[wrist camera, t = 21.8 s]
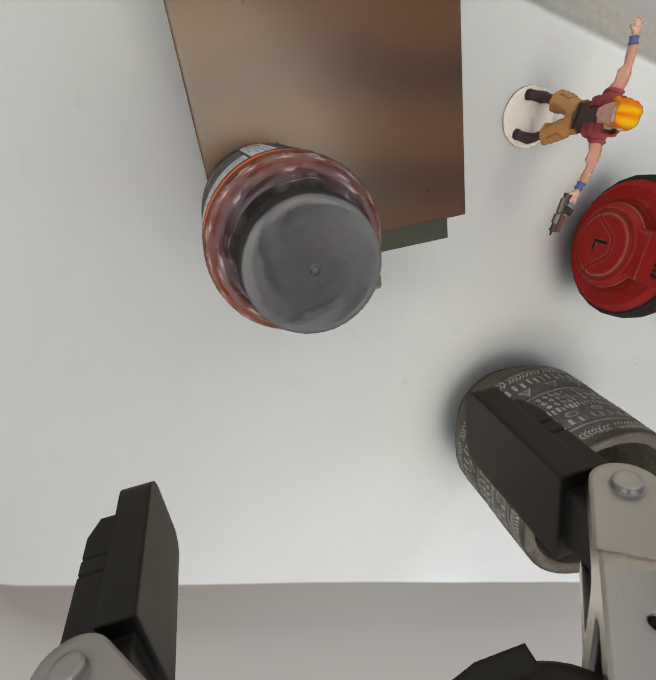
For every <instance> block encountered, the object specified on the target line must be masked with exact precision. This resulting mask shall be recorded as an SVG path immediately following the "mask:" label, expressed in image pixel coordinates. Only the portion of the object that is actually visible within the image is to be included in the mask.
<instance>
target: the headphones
mask: <svg viewBox="0 0 656 680" xmlns="http://www.w3.org/2000/svg"><path fill="white" fill-rule="evenodd" d="M571 266H572V272H573V277H574V281H575V283H576V285H577V288H578V290H579V292H580V294H581V295H582V296H583V297H584V299H585V300H586V301H587V302H588V304H589V305H591V306H592V307H594V308H595V309H597V310H598V311H600V312H601V313H605V314H608V315H612V316H615V317H620V318H635V317H643V316H647V315H650V314H653V313H656V175H636V176H633V177H630V178H627V179H624V180H621V181H619V182H617V183H616V184H614V185H613V186H611V187H610V188H608V189H607V190H605V191H604V192H603V193H602V194H601V195H600V196H599V197H598V198H597V199H596V200H595V201H594V202H593V203H592V204H591V205H590V207H589V208H588V210H587V211H586V213H585V214H584V216H583V217H582V219H581V220H580V223H579V225H578V227H577V230H576V232H575V235H574V239H573V243H572V248H571Z"/></svg>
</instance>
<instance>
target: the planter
mask: <svg viewBox="0 0 656 680" xmlns="http://www.w3.org/2000/svg"><path fill="white" fill-rule="evenodd" d="M491 386H496V387H497V388H499V389H500V390H501V391H502V392H504V393H505V394H506V395H507V396H508V397H510V398H511V399H512V400H515V399H521V400H524V401H526V402H529V403H531V404H533V405H536V406H538V407H540V408H541V409H542V410H543V411H545V412H546V413H547V414H548V415H550V416H551V417H552V418H553V420H556V421H557V422H558V423H560V424H561V425H562V426H563V427H564V428H565V430H568V431H570V432H571V433H572V434H573V435H575V436H576V437H577V438H578V439H580V440H581V441H582V442H583V443H585V444H586V445H587V446H588V447H590V448H591V449H592V450H594V451H595V452H596V453H597V454H599V455H600V456H601V457H602V458H604V459H605V460H606V461H607V462H609V463H624V464H630V465H633V466H637V467H640V468H642V469H644V470H646V471H649V472H650V473H652V474H653V475H655V476H656V433H655V432H654V431H652V430H651V429H649V428H647V427H646V426H645V425H643V424H642V423H640V422H639V421H638V420H636V419H635V418H633V417H632V416H631V415H629V414H628V413H626V412H625V411H623V410H622V409H620V408H619V407H617V406H616V405H614V404H613V403H611V402H610V401H608V400H606V399H605V398H603V397H602V396H600V395H599V394H597V393H596V392H595V391H593V390H592V389H591V388H589V387H588V386H587V385H585V384H584V383H582V382H581V381H579V380H578V379H576V378H575V377H573V376H571V375H570V374H568V373H566V372H565V371H562V370H560V369H557V368H553V367H546V366H526V367H516V368H509V369H503V370H499V371H496V372H493V373H491V374H489V375H487V376H485V377H484V378H482V379H481V380H479V381H478V382H477V383H476V384H475V385H474V386H473V387H472V388H471V389H470V390H469V391H468V392H467V393H470V392H473V391H477V390H480V389H484V388H487V387H491ZM464 399H465V397H464ZM464 399H463V401H462V402H461V405H460V408H459V411H458V416H457V423H456V435H455V446H456V456H457V460H458V464H459V466H460V468H461V470H462V472H463V473H464V474H465V476H466V477H467V479H468V480H469V482H470V483H471V484H472V486H473V487H474V488H475V489H476V491H477V492H478V493H479V494H480V495H481V496H482V498H483V499H484V500H485V501H486V503H487V504H488V505H489V507H490V508H491V509H492V511H493V512H494V514H495V515H496V516H497V518H498V519H499V520H500V522H501V523H502V524H503V526H504V527H505V528H506V530H507V531H508V532H509V533H510V535H511V536H512V537H513V538H514V540H515V541H516V542H517V543H518V545H519V546H520V547H521V548H522V550H523V551H524V552H525V553H526V555H527V556H528V557H529V558H530V560H531V561H532V562H533V563H534V564H535V565H537V566H538V567H540V568H542V569H544V570H546V571H549V572H554V573H566V574H568V573H579V572H580V560H579V559H578V557H577V556H576V555H575V554H574V553H572V554H569V555H566V556H563V557H561V558H558V559H555V558H554V557H553V556H552V554H551V553H550V552H549V551H548V550H547V548H546V547H545V546H544V545H543V544H542V543H541V541H540V540H539V539H538V538H537V537H536V536H535V534H534V533H533V532H532V531H531V530H530V528H529V527H528V526H527V525H526V524H525V523H524V521H523V520H522V519H521V518H520V517H519V515H518V514H517V513H516V512H515V511H514V510H513V508H512V507H511V506H510V505H509V504H508V502H507V501H506V500H505V499H504V498H503V497H502V495H501V494H500V493H499V492H498V491H497V489H496V488H495V487H494V486H493V485H492V484H491V482H490V481H489V480H488V479H487V478H486V477H485V475H484V474H483V473H482V472H481V471H480V469H479V468H478V467H477V466H476V465H475V463H474V462H473V460H472V458H471V456H470V454H469V452H468V449H467V445H466V431H465V405H464Z"/></svg>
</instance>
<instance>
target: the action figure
mask: <svg viewBox="0 0 656 680" xmlns="http://www.w3.org/2000/svg"><path fill="white" fill-rule="evenodd" d="M642 18H643V17H641V18H640V17H638V18H636V19H635V23H634V26H633V25H629V26H630V28H631V31H632V32H631V34H632V36H630V37H629V43H628V45H629V46H628V49H627V52H626V56H625V62H624V65H623V66H622V67H621V68H620V69H619V70H618V72H617V75H616V79H615V81H614V82H613V83H612V84H611V85H610V87H609V88H607V89H605V91H604V92H603V94H602V95H597V96H595V97H593V98H592V101H589V100H581V99H579V98H578V96H577V95H575V94H574V93H571V92H569V91H565V90H559V91H558V92H556V93H555V94H550V93H548V92H547V91H546V90H545V89H544V88H542V87H540V86H536V85H531V86H526V87H524V88H522V89H520V90H519V91H517V92H516V93H515V94H514V95H513V96H512V98H511V99H510V101H509V102H508V104H507V106H506V109H505V112H504V117H503V128H504V132H505V135H506V137H507V139H508V140H509V141H510V142H511V143H512V144H513V145H515V146H517V147H520V148H528V147H531V146H534V145H536V144H537V143H539V142H540V141H541V143H542V145H546V144H549V143H554V142H557V141H560V140H563V139H565V138H567V137H568V136H569V135H573V134H578V133H581V135H582V136H583V137H584V138H587V140H588V142H589V145H588V146H589V152H588V154H587V156H586V159H585V161H586V168H585V170H584V171H583V173H582V174H581V177H580V179H579V181H577V185H576V186H575V187H574V188H575V190H573V191H572V192H571V193H564V196H563V198H561V200H560V203H559V206H558V208H557V211H556V214H554V216H553V219H552V221H551V222H552V225H551V227H550V228H549V230H550V234H549V235H551V233H552V232H559V230H560V228H561V225H562V223H563V220H564V218H565V216H564V215H563V214H564V213H566V214H567V215H569V216H571V214H572V213H573V210H572V209H571V208H569V207H568V206H567V205H568V204H569V203H572V204H574V202H575V203H576V201H577V198H578V196H579V194H580V191H582V189H583V187H584V186H585V185H586V182H587V181H588V180H589V178H590V177H591V174H592V171H593V169H594V167H595V165H596V163H597V162H598V160H599V158H600V155H601V151H602V145H604V144H605V143H606V141H605V139H606V138H607V137H615V136H616V135H617V134H618V133H619V132H620V131H628V130H630V129H632V128H634V127H635V126H636V125H637V124H638V123H639V119H640V117H641V115H642V113H643V106H642V105H641V104H640V103H639V102H638V101H635V100H633V99H632V98H628V97H626V96H622V95H623V94H624V93H625V91H624V90H623V89H624V87H625V86H626V84H627V83H628V81H629V78H630V75H631V70H632V65H633V62H634V59H635V57H636V54H637V45H638V44H639V43H638V39H639V35H638V34H639V32H640V30H641V26H642V23H643V21H644V20H642ZM554 113H557V114H560V113H561V114H563V115H565V117H564V118H563V119H560V120H558V121H556V122H554V123H552V122H553V117H554Z"/></svg>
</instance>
